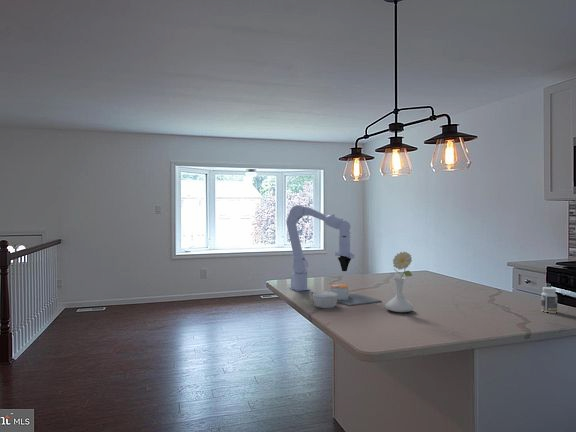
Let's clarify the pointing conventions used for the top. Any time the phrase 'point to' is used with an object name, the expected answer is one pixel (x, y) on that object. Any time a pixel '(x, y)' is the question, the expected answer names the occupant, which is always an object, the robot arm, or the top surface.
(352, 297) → the grey mat
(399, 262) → the flower in vase
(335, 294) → the ramekin
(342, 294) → the small box
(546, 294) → the pill bottle
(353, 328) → the top surface
